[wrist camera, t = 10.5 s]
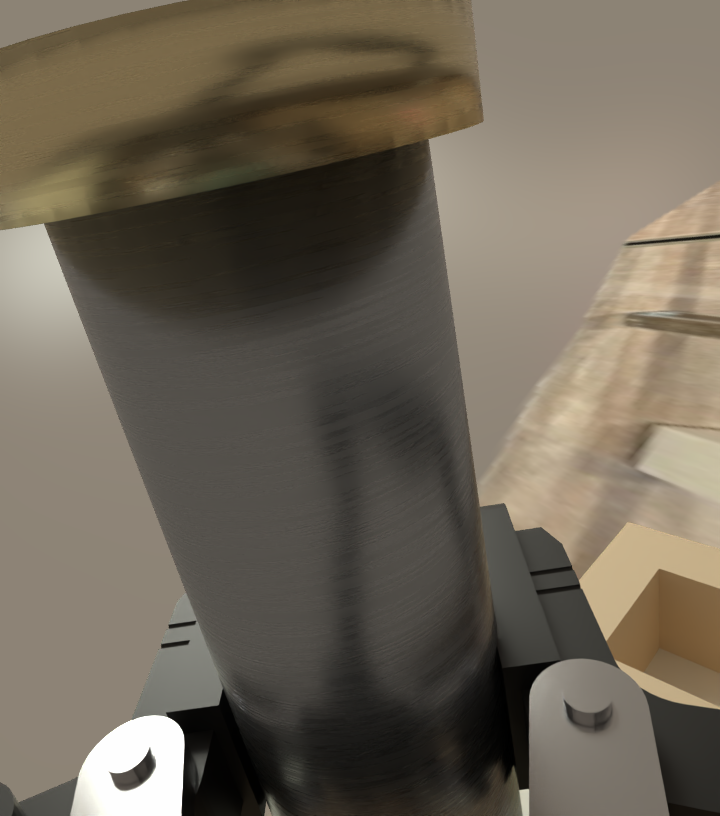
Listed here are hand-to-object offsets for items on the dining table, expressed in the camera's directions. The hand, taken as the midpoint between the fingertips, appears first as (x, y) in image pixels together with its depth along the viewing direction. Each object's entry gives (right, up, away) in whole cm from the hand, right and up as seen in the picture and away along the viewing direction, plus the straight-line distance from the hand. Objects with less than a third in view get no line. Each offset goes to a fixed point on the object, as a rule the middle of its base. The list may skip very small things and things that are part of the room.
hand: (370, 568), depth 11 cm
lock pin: (+2, -10, +2) cm, 10 cm away
